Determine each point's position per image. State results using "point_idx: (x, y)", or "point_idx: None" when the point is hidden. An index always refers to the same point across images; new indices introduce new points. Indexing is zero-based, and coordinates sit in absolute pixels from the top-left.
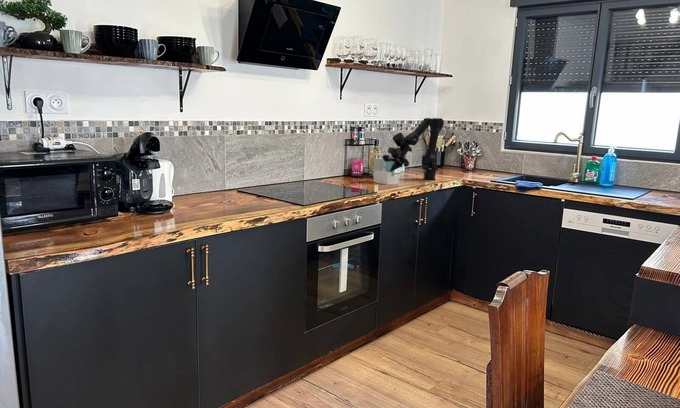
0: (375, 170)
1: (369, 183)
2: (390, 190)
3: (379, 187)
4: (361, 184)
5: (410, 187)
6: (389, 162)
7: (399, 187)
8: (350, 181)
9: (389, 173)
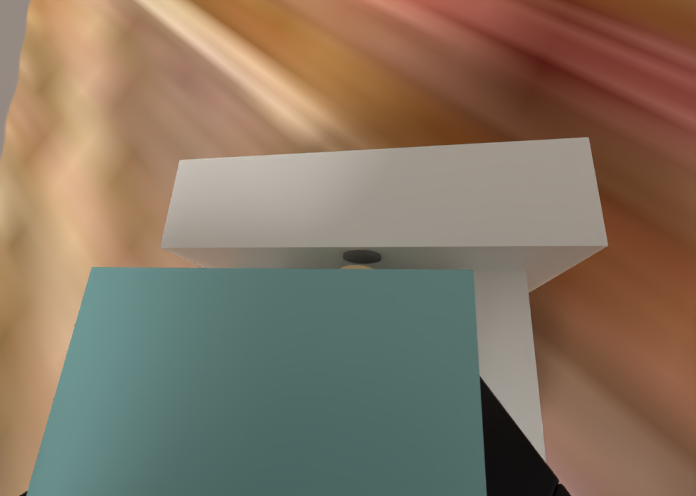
0: (591, 171)
1: (433, 118)
2: (65, 60)
3: (198, 65)
4: (410, 17)
5: (13, 327)
6: (132, 271)
7: (87, 222)
8: (663, 16)
9: (180, 205)
